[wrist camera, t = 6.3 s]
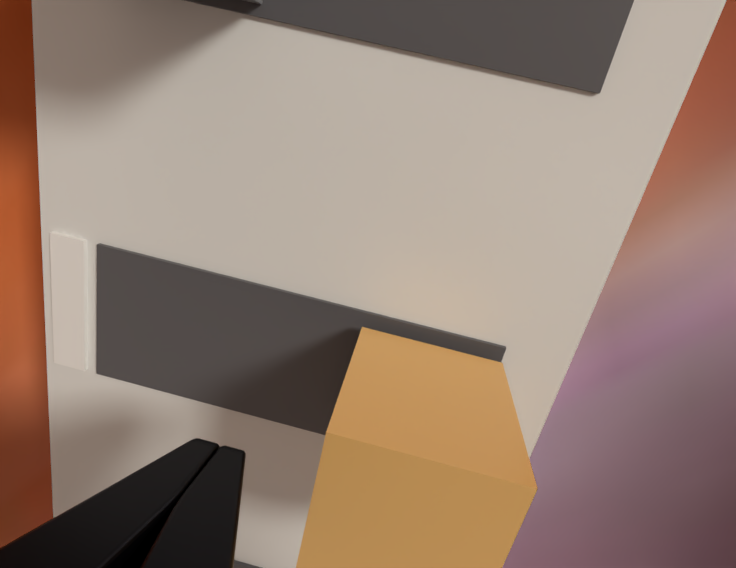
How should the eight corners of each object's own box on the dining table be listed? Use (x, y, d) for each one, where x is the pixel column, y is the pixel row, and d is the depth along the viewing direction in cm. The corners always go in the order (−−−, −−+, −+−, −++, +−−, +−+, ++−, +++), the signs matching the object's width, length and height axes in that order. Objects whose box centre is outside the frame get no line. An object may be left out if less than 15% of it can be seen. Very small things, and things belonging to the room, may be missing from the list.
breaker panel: (728, -130, 8) (1209, -530, 3) (421, 644, 16) (416, 893, 11) (102, -255, 9) (-356, -767, 4) (98, 550, 17) (-52, 745, 12)
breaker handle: (502, 362, 10) (537, 489, 6) (461, 473, 11) (473, 630, 7) (362, 326, 10) (325, 432, 7) (335, 439, 11) (293, 578, 8)
